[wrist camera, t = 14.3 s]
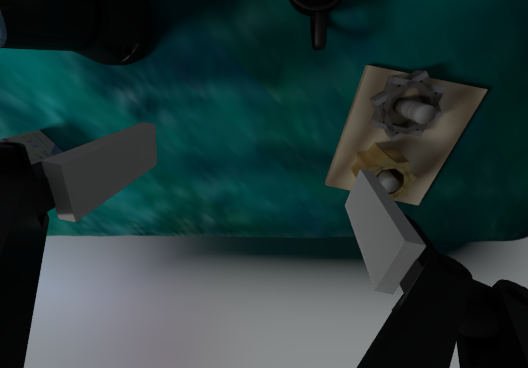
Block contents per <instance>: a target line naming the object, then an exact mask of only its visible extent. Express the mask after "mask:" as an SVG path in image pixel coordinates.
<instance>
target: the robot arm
mask: <svg viewBox="0 0 528 368" xmlns="http://www.w3.org/2000/svg"><path fill="white" fill-rule="evenodd" d="M151 36H152V12H151V7H150V3H149V0H0V48H13V49H36V50H60V51H74V52H76V53H78V54H80V55H82V56H85V57H87V58H89V59H91V60H93V61H96V62H98V63H101V64H105V65H128V64H131V63H133V62H135V61H137V60H138V59H139V58H140V57H141V56H142V55H143V54H144V53H145V51H146V50H147V48H148V46H149V43H150V40H151ZM156 164H157V155H156V133H155V125H154V124H150V123H145V122H142V123H140V124H137V125H134V126H132V127H129V128H126V129H124V130H121V131H118V132H116V133H113V134H110V135H108V136H105V137H102V138H100V139H97V140H95V141H92V142H89V143H87V144H84V145H81V146H79V147H76V148H73V149H71V150H68V151H65V152H63V153H60V154H57V155H55V156H52V157H49V158H47V159H44V160H41V161H40V162H37V163H35V164H32V165H31V162H30V159H29V156H28V153H27V150H26V147H25V145H24V144H22V143H17V142H0V368H24V363H25V357H26V350H27V344H28V339H29V334H30V328H31V322H32V316H33V310H34V304H35V298H36V293H37V287H38V282H39V276H40V270H41V264H42V258H43V252H44V247H45V241H46V235H47V229H48V224H49V217H48V214H47V212H48V211H49V210H51V209H53V208H54V207H55V208H56V211H57V214H58V218H59V219H63V220H68V221H72V222H77V221H78V220H80V219H81V218H82V217H84V216H85V215H87V214H88V213H89V212H91V211H92V210H94V209H95V208H96V207H98V206H99V205H101V204H102V203H103V202H105V201H106V200H108V199H109V198H110V197H112V196H113V195H115V194H116V193H117V192H119V191H120V190H122V189H123V188H124V187H126V186H127V185H128V184H130V183H131V182H133V181H134V180H135V179H137V178H138V177H140V176H141V175H142V174H144V173H145V172H147V171H148V170H149V169H151V168H152V167H154V166H155V165H156ZM345 207H346V210H347V213H348V216H349V218H350V221H351V224H352V227H353V230H354V233H355V235H356V238H357V241H358V244H359V247H360V249H361V252H362V255H363V258H364V261H365V264H366V267H367V269H368V272H369V275H370V278H371V281H372V284H373V287H374V289H375V290H376V291H380V292H385V293H389V294H393V293H394V292H395V290H396V289H397V288H398V286H399V285H400V286H401V288H402V290H403V292H404V294H403V295H402V296H401V298H400V299H399V301H398V302H397V303H396V305H395V306H394V308H393V309H392V312H391V314H390V315H389V317H388V319H387V320H386V322H385V323H384V325H383V327H382V328H381V330H380V331H379V333H378V335H377V336H376V338H375V339H374V341H373V342H372V344H371V346H370V347H369V349H368V350H367V352H366V354H365V355H364V357H363V358H362V360H361V362H360V363H359V365H358V366H357V368H449V367H450V363H451V360H452V356H453V352H454V348H455V344H456V341H457V349H458V357H459V364H460V368H528V289H527V288H525V287H523V286H520V285H518V284H517V283H514V282H511V281H509V280H503V279H502V280H499V281H497V282H496V283H495V284H494V285H493V286H492V287H490V286H488V285H485V284H483V283H481V282H478V281H476V280H473V279H472V275H471V273H470V272H469V270H468V269H466V268H465V267H464V266H463V265H462V264H461V263H459V262H458V261H456V260H455V259H453V258H451V257H449V256H446V255H443V254H440V253H439V252H438V251H437V249H436V248H435V247H434V245H433V244H432V243H431V241H430V240H429V239H428V237H426V235H425V234H424V232H423V231H421V228H420V227H419V226H418V224H417V223H416V222H415V221H414V220H412V219H411V218H410V217H409V216H407V215H404V214H403V213H402V212H401V210H400V209H399V207H398V206H397V205H396V203H395V202H394V200H393V199H392V198H391V196H390V195H389V194H388V192H387V191H386V189H385V188H384V187H383V185H382V184H381V182H380V181H379V180H378V178H377V177H376V176H375V174H374V173H373V171H368V170H364V169H360V171H359V173H358V175H357V178H356V180H355V183H354V185H353V187H352V190H351V192H350V194H349V197H348V199H347V202H346V204H345Z"/></svg>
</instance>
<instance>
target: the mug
mask: <svg viewBox="0 0 528 368" xmlns="http://www.w3.org/2000/svg"><path fill="white" fill-rule="evenodd" d="M289 1H290V3H291V5H292V6H293V7H294V8H295V9H296V10H297V11H298V12H300V13H302V14H303V15H307V16H310V22H311V39H312V47H313V50H322V49H324V48H325V46H326V36H327V12H329V11H331V10H333V9H334V8H335V7H336V6H337V5H338V4H339V3H340V2H341V1H342V0H289Z"/></svg>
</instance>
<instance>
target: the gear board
mask: <svg viewBox="0 0 528 368" xmlns="http://www.w3.org/2000/svg"><path fill="white" fill-rule="evenodd" d="M486 92H487V89H482V88H477V87H473V86H468V85H463V84H458V83H453V82H448V81H443V80H438V79H433V78H429V76H428V73H427V71H420V70H416V71H414V72H413V73H411V74H409V73H404V72H399V71H394V70H389V69H384V68H380V67H375V66H370V65H366V66H365V69H364V72H363V75H362V77H361V80H360V83H359V86H358V89H357V92H356V95H355V98H354V100H353V103H352V106H351V109H350V112H349V115H348V118H347V120H346V123H345V126H344V129H343V132H342V135H341V138H340V141H339V143H338V146H337V149H336V152H335V155H334V158H333V161H332V164H331V166H330V169H329V172H328V175H327V178H326V181H325V183H326V185H327V186H332V187H336V188H341V189H345V190H350V191H351V190H352V187H353V185H354V183H355V180H356V177H355V176H354V174H353V172H352V170H351V167H352V166H353V165H354V164H355V163H356V162H357V152H363V151H367V150H368V149H369V148H370V147H371V146H372V145H373V144H374V143H375V144H376V145H378V146H379V147H380V148H388V147H393V148H394V149H395V150H397V151H398V152H399V153H400V154H401V155H403V156H404V157H405V158H406V159H407V160H408V161H410V172H411V173H413V174H414V175H415V176H416V177H417V178H418V179H417V180H415V181H414V182H413V183H412V184H411V185H410V186H409V189H408V196H404V197H396V198H395V199H394V200H396V201H400V202H405V203H410V204H414V205H419V203H420V202H421V200H422V198H423V197H424V195H425V193H426V192H427V190H428V188H429V187H430V185H431V183H432V182H433V180H434V178H435V177H436V175H437V173H438V172H439V170H440V168H441V167H442V165H443V163H444V162H445V160H446V158H447V157H448V155H449V153H450V152H451V150H452V148H453V147H454V145H455V143H456V142H457V140H458V138H459V137H460V135H461V133H462V132H463V130H464V128H465V127H466V125H467V123H468V122H469V120H470V118H471V117H472V115H473V113H474V112H475V110H476V108H477V107H478V105H479V103H480V102H481V100H482V98H483V97H484V95H485V93H486ZM376 177H377V178H378V180H379V181H380V182H381V184H382V185H383V187H384V188H385V189H386V191H387V192H393V191H395V190H396V189H397V188H398V186H399V182H398V180H397V179H396V178H395V177H394V176H393V175H392V174H391V172H390V171H389V170H388V169H387V170H382V171H381V172H380V173H379V174H378V175H377V176H376Z"/></svg>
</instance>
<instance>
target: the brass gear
mask: <svg viewBox="0 0 528 368" xmlns="http://www.w3.org/2000/svg"><path fill="white" fill-rule="evenodd" d="M360 169H364V170H368V171H373V173H374V174H375V176H377V175H378V174H379V173H380V172H381V171H382V170H387V169H388V170H389V171H390V172H391V174H392V175H393V176H394V177H395V178H396V179H397V180H398V182H399V186H398V188H397V189H396V190H395V191H393V192H388V194H389V195H390V196H391V198H392V199H393V200H394V199H395V198H396V197H404V196H408V189H409V186H410V185H411V184H412V183H413V182H414V181H415V180H417V179H418V178H417V177H416V176H415V175H414V174H413V173H411V172H410V161H408V160H407V159H406V158H405V157H404V156H403V155H401V154H400V153H399V152H398V151H397V150H395V149H394V148H393V147H388V148H380V147H379V146H378V145H376V144H375V143H374V144H373V145H372V146H371V147H370V148H369V149H368V150H367V151H363V152H357V162H356V163H355V164H354V165H353V166H352V167H351V170H352V172H353V174H354V176H355V177H356V178H357V175H358V173H359V171H360Z"/></svg>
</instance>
